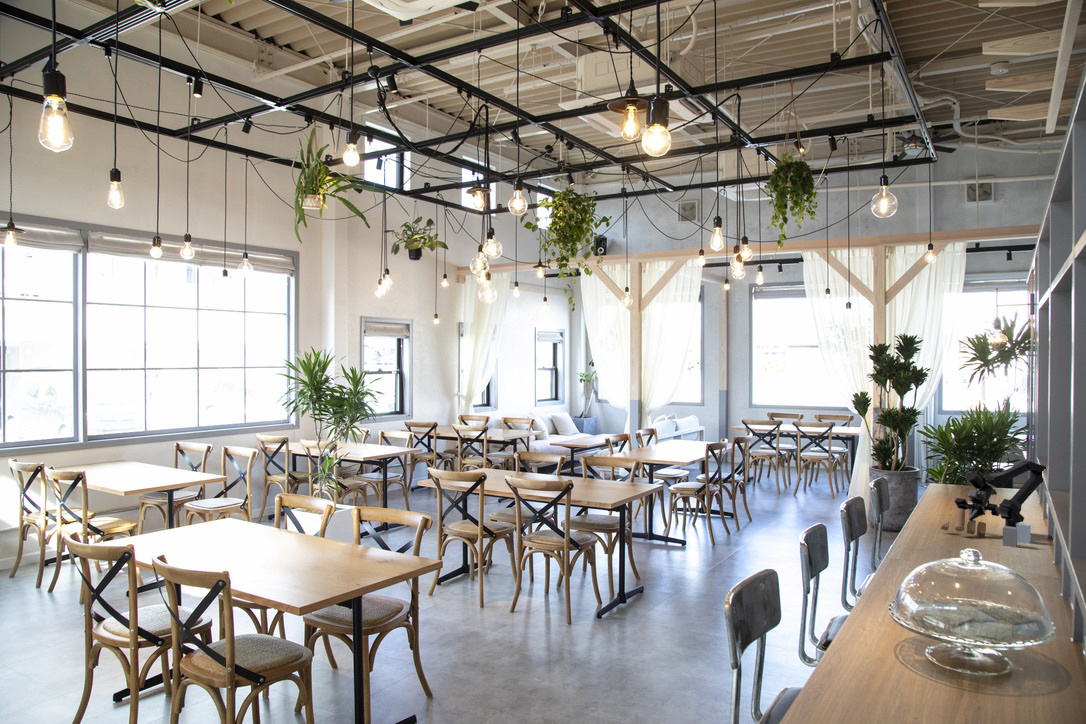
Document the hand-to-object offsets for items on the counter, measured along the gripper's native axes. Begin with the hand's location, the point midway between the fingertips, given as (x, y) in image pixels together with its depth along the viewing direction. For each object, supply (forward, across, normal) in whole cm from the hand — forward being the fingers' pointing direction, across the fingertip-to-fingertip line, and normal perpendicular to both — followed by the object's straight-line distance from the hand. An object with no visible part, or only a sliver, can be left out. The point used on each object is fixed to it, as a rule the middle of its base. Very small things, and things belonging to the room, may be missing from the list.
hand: (969, 519), depth 339 cm
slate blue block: (-3, +18, +12) cm, 23 cm away
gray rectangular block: (+7, +19, +3) cm, 21 cm away
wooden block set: (+6, -2, +3) cm, 7 cm away
